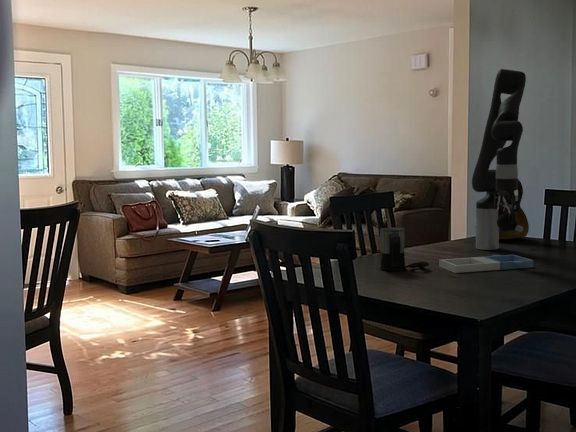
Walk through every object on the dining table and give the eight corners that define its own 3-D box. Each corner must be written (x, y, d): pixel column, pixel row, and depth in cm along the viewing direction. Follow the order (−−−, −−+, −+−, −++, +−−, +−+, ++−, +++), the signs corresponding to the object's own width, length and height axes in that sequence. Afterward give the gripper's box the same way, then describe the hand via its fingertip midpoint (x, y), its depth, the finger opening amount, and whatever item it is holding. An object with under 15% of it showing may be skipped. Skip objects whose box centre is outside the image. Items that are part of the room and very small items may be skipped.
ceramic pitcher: (492, 235, 314) (492, 173, 311) (535, 238, 301) (535, 173, 298) (475, 241, 299) (475, 175, 296) (519, 244, 286) (520, 175, 283)
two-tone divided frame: (436, 265, 241) (436, 258, 241) (510, 260, 247) (510, 253, 247) (457, 273, 225) (457, 266, 225) (536, 268, 231) (536, 260, 231)
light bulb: (524, 221, 230) (499, 209, 235) (516, 237, 231) (491, 225, 237) (530, 222, 235) (505, 211, 240) (522, 239, 236) (497, 227, 242)
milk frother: (375, 267, 241) (375, 228, 239) (414, 264, 245) (413, 225, 244) (393, 274, 227) (392, 232, 226) (433, 270, 232) (433, 229, 230)
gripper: (527, 177, 228) (526, 224, 230) (505, 175, 242) (505, 220, 244) (507, 178, 227) (507, 225, 229) (487, 176, 241) (486, 221, 243)
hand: (506, 222), depth 236 cm, fingers closed on light bulb, 7 cm apart
